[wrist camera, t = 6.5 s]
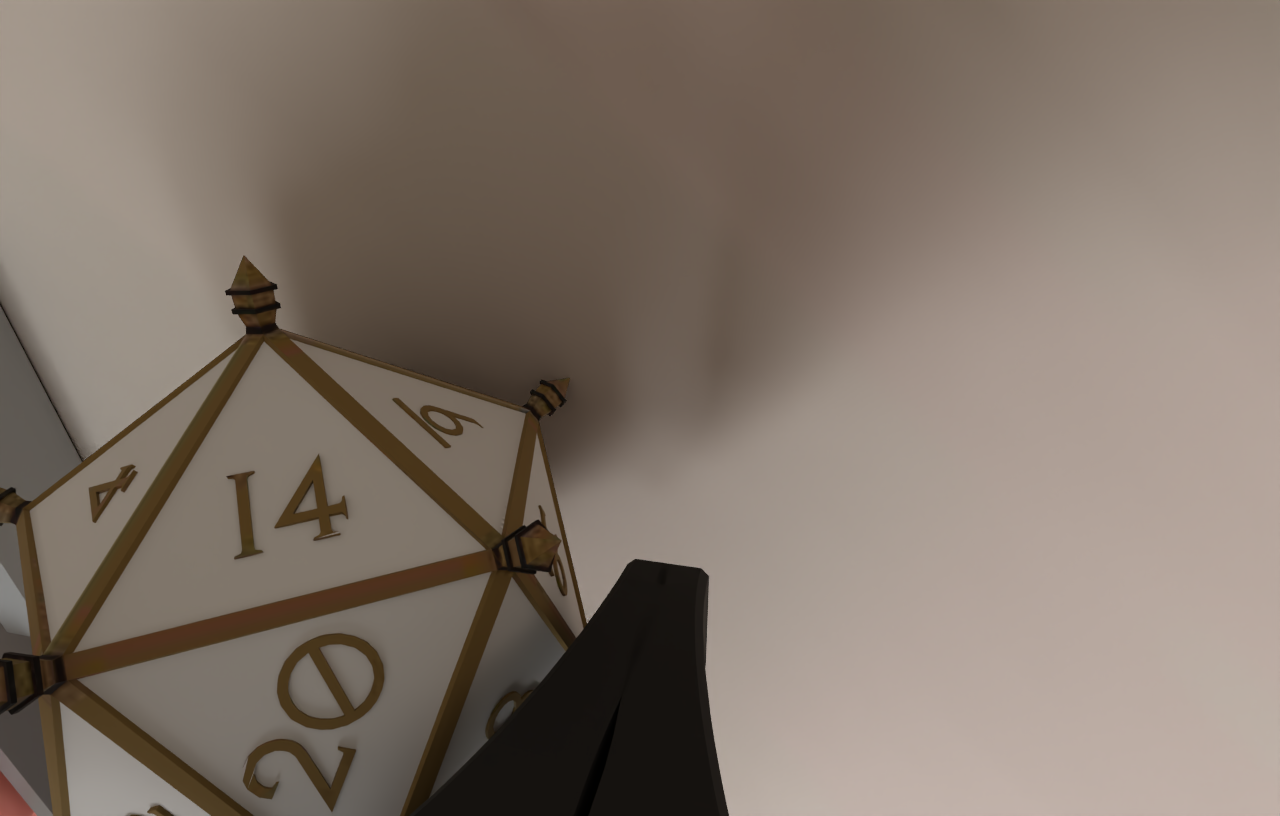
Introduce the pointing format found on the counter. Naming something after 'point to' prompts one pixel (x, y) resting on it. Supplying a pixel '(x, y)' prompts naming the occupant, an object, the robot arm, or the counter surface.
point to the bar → (24, 461)
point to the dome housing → (24, 741)
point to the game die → (290, 586)
